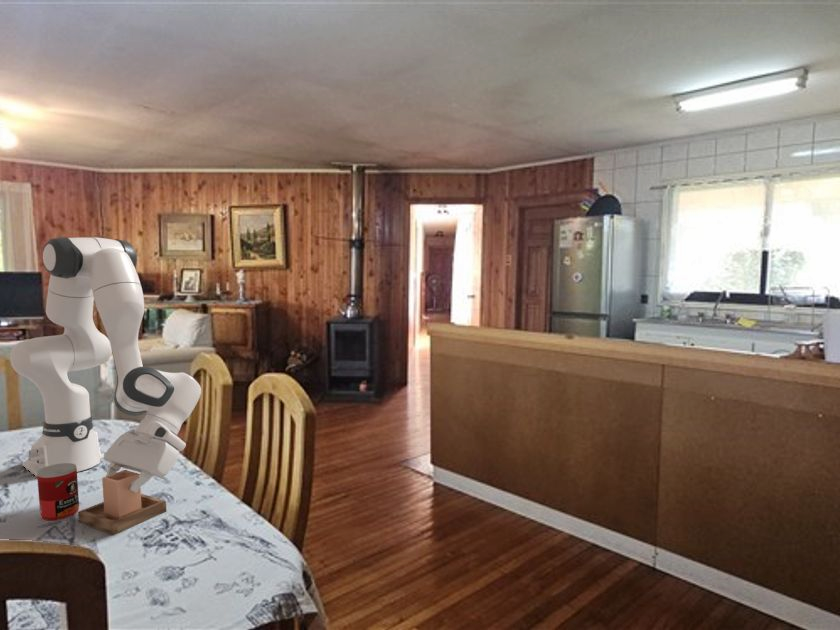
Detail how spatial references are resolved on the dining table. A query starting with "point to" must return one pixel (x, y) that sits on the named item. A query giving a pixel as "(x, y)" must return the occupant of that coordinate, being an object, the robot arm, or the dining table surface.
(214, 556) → the dining table surface
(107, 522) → the tray
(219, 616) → the dining table surface
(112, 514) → the open rectangular container
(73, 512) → the canned food
